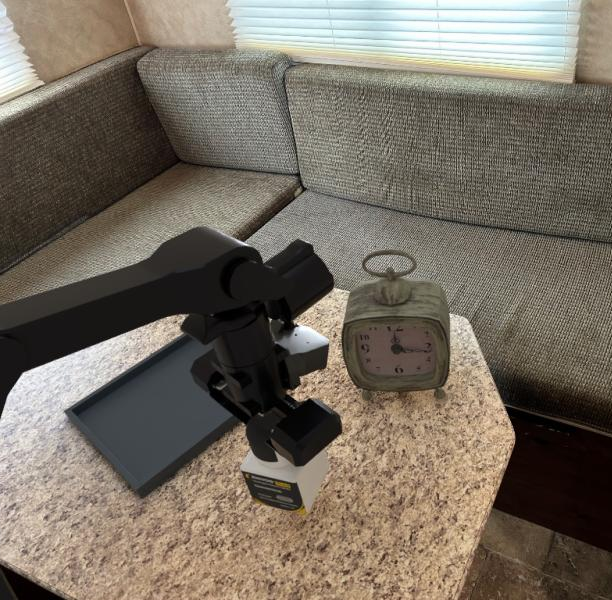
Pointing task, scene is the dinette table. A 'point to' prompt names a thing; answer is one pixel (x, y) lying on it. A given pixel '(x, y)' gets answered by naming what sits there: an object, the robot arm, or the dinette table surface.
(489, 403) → the dinette table surface
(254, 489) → the medicine bottle
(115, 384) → the tray
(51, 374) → the dinette table surface
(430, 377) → the tabletop clock
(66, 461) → the dinette table surface
